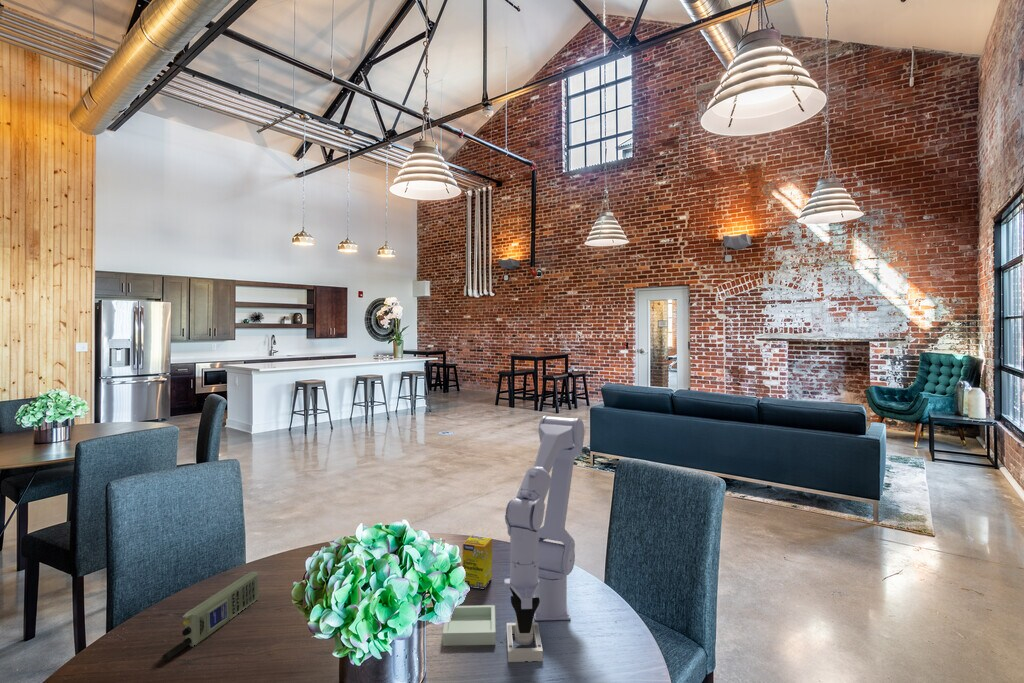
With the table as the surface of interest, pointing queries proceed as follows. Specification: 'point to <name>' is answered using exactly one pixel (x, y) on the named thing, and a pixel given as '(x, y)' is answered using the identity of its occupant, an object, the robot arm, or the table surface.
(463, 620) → the parts tray
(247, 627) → the table surface
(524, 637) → the cylinder
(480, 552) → the supplement box
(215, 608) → the handheld radio
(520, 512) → the robot arm
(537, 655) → the holder
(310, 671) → the table surface
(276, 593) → the table surface
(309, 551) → the table surface
